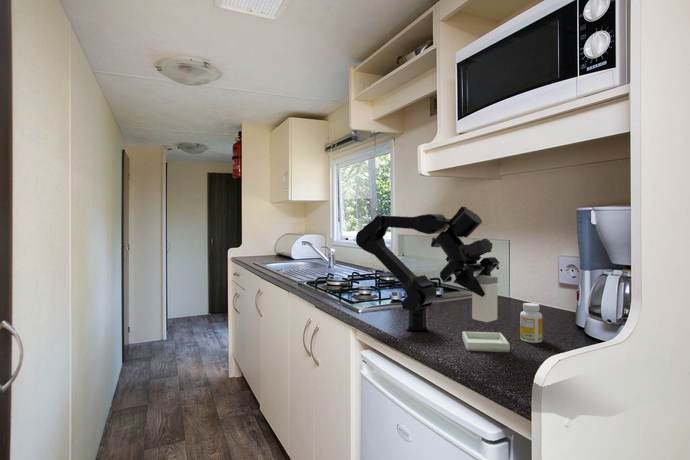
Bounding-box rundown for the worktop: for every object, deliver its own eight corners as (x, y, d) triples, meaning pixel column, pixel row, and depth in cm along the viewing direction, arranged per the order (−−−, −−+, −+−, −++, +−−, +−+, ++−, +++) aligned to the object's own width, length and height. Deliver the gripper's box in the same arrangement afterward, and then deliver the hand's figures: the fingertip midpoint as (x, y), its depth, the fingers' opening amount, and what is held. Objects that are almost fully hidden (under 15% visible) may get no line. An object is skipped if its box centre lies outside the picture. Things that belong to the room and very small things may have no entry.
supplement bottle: (536, 337, 111) (535, 302, 111) (546, 343, 106) (546, 306, 105) (516, 337, 111) (516, 302, 110) (526, 343, 105) (526, 306, 105)
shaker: (471, 318, 105) (471, 276, 104) (482, 316, 107) (482, 275, 107) (486, 322, 101) (487, 278, 101) (497, 319, 104) (497, 277, 103)
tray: (462, 338, 110) (462, 331, 110) (500, 340, 108) (500, 332, 108) (467, 350, 100) (467, 342, 100) (509, 352, 99) (509, 344, 99)
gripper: (448, 229, 101) (486, 278, 93) (493, 228, 112) (530, 271, 103) (425, 258, 108) (458, 306, 99) (469, 254, 119) (503, 297, 110)
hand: (489, 294), depth 103 cm, fingers closed on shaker, 4 cm apart
